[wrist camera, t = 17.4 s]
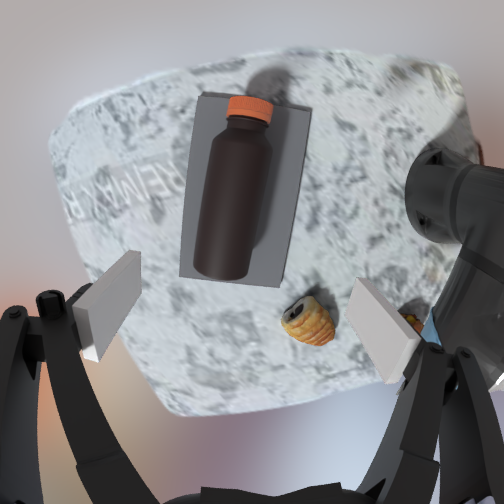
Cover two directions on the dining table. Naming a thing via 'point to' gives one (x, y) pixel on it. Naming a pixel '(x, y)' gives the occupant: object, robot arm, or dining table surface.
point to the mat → (275, 196)
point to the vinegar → (234, 191)
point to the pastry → (309, 322)
